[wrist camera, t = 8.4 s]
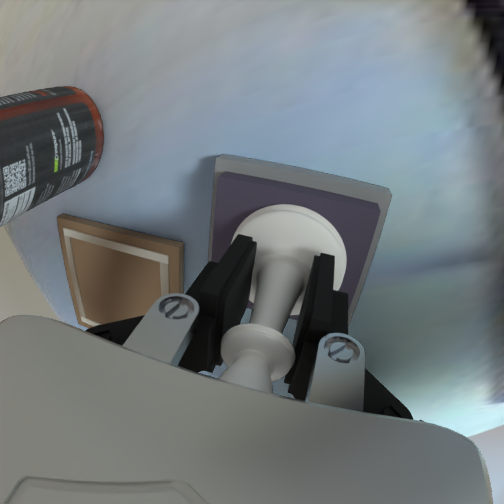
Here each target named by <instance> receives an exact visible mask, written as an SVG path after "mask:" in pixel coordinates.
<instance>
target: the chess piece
mask: <svg viewBox="0 0 504 504" xmlns="http://www.w3.org/2000/svg"><path fill="white" fill-rule="evenodd" d="M238 234H241V235H245V236H250V237H253V241H255V242H257V248H256V255H255V262H254V267H253V272H252V279H251V281H252V282H251V289H250V296H249V300H250V301H251V302H252V303H253V308H252V313H251V318H250V321H249V323H248V324H241V325H237V326H234V327H232V328H231V329H229V330H228V331H227V332H226V333H225V334H224V336H223V338H222V341H221V356H222V359H223V361H224V362H225V364H226V365H227V366H228V368H227V369H226V370H225V371H224V372H223V373H222V375H221V376H220V377H219V378H218V379H221V380H224V381H227V382H231V383H234V384H238V385H242V386H245V387H249V388H253V389H257V390H261V391H264V392H268V393H272V392H273V388H272V382H271V381H275V380H278V379H281V378H282V377H284V376H285V375H286V374H287V373H288V372H289V370H290V369H291V368H292V366H293V364H294V362H295V351H294V348H293V346H292V344H291V343H290V341H289V340H288V339H287V338H286V337H285V336H284V335H283V334H282V333H283V330H284V328H285V325H286V323H287V321H288V319H289V317H290V315H299V313H300V309H301V306H302V302H303V299H304V295H305V291H306V288H307V284H308V280H309V276H310V271H311V267H312V263H313V259H314V255H317V256H320V254H321V253H325V254H329V255H334V256H335V267H334V286H333V290H336V291H338V290H339V288H340V286H341V284H342V281H343V278H344V274H345V270H346V264H347V257H346V250H345V246H344V243H343V241H342V239H341V237H340V235H339V233H338V232H337V230H336V229H335V228H334V226H333V225H332V224H331V223H330V222H329V221H328V220H326V219H325V218H324V217H323V216H321V215H320V214H318V213H316V212H314V211H312V210H310V209H308V208H305V207H301V206H297V205H290V204H279V205H272V206H268V207H264V208H262V209H259V210H257V211H255V212H254V213H252V214H251V215H249V216H248V217H247V218H246V219H245V220H244V221H243V222H242V223H241V224H240V225H239V227H238V228H237V230H236V232H235V234H234V236H233V239H232V242H233V241H234V239H235V238H236V236H237V235H238ZM232 242H231V244H232Z"/></svg>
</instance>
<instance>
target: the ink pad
mask: <svg viewBox="0 0 504 504" xmlns="http://www.w3.org/2000/svg"><path fill="white" fill-rule="evenodd" d="M391 197H392V194H391V192H390V190H389V188H385V187H381V186H377V185H373V184H369V183H365V182H361V181H357V180H353V179H349V178H345V177H340V176H336V175H332V174H327V173H323V172H318V171H313V170H309V169H304V168H299V167H294V166H289V165H284V164H279V163H273V162H268V161H262V160H257V159H251V158H245V157H239V156H233V155H226V154H222V155H221V156H219V157H217V158H216V161H215V172H214V184H213V196H212V209H211V222H210V236H209V252H208V262H209V261H213V262H217V263H219V261H220V260H221V258H222V257H223V255H224V254H225V252H226V251H227V249H228V248H229V246H230V245H231V242H232V239H233V236H234V234H235V232H236V230H237V228H238V227H239V225H240V224H241V223H242V222H243V221H244V220H245V219H246V218H247V217H248V216H249V215H251V214H252V213H254V212H255V211H257V210H259V209H262V208H264V207H268V206H272V205H279V204H290V205H297V206H301V207H305V208H308V209H310V210H312V211H314V212H316V213H318V214H320V215H321V216H323V217H324V218H325V219H326V220H328V221H329V222H330V223H331V224H332V225H333V226H334V228H335V229H336V230H337V232H338V233H339V235H340V237H341V239H342V241H343V243H344V246H345V250H346V257H347V264H346V270H345V274H344V278H343V281H342V284H341V286H340V288H339V290H338V291H340V292H345V293H348V326H349V323H350V320H351V318H352V315H353V313H354V310H355V308H356V305H357V302H358V300H359V297H360V294H361V291H362V289H363V286H364V283H365V280H366V277H367V274H368V272H369V269H370V266H371V263H372V260H373V257H374V254H375V251H376V248H377V244H378V241H379V238H380V235H381V232H382V228H383V225H384V222H385V218H386V215H387V211H388V208H389V204H390V201H391ZM247 308H250V309H252V308H253V303H252V302H251V301H250V300H249V301H248V305H247ZM298 317H299V315H290V317H289V318H291V319H295V320H298Z"/></svg>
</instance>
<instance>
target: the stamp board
mask: <svg viewBox="0 0 504 504" xmlns="http://www.w3.org/2000/svg"><path fill="white" fill-rule="evenodd" d="M57 222H58V229H59V236H60V242H61V248H62V253H63V259H64V264H65V269H66V274H67V279H68V283H69V288H70V292H71V296H72V300H73V304H74V308H75V312H76V316H77V320H78V324H80V325H82V326H85V327H87V328H91V327H94V326H97V325H102V324H106V323H111V322H116V321H120V320H125V319H129V318H134V317H138V316H143V315H146V313H147V312H148V311H149V309H150V308H151V307H152V305H153V304H154V303H155V301H156V300H158V299H159V298H160V297H162V296H164V295H167V294H171V293H180V294H183V264H184V243H183V242H178V241H174V240H170V239H166V238H161V237H157V236H153V235H149V234H145V233H141V232H136V231H132V230H128V229H124V228H120V227H115V226H111V225H107V224H103V223H99V222H95V221H91V220H86V219H82V218H78V217H74V216H70V215H66V214H61V215H60V216H58V217H57Z"/></svg>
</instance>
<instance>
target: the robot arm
mask: <svg viewBox="0 0 504 504" xmlns="http://www.w3.org/2000/svg"><path fill="white" fill-rule="evenodd" d="M256 248H257V242H255V241H253V237H250V236H245V235H241V234H238V235H237V236H236V238H235V239H234V241H233V242H232V244H231V245H230V246H229V248H228V249H227V251H226V252H225V254H224V255H223V257H222V258H221V260H220V261H219V263H217V262H213V261H209V262H208V263H207V265H206V266H205V267H204V269H203V270H202V272H201V273H200V274H199V276H198V277H197V278H196V280H195V281H194V283H193V284H192V285H191V287H190V288H189V289H188V291H187V292H186V294H180V293H171V294H167V295H164V296H162V297H160V298H159V299H158V300H156V301H155V303H154V304H153V305H152V307H151V308H150V309H149V311H148V312H147V313H146V315H143V316H138V317H134V318H129V319H125V320H120V321H116V322H111V323H106V324H102V325H97V326H94V327H91V328H89V329H87V330H86V331H84V330H81V329H79V328H76V327H74V326H71V325H69V324H66V323H63V322H60V321H57V320H54V319H50V318H45V317H41V316H32V315H18V316H12V317H9V318H7V319H5V320H3V321H2V322H0V504H493V498H492V490H491V483H490V478H489V474H488V470H487V466H486V463H485V460H484V458H483V455H482V453H481V451H480V450H479V448H478V447H477V446H476V445H475V443H473V442H472V441H471V440H470V439H468V438H467V437H465V436H463V435H462V434H459V433H457V432H455V431H453V430H451V429H448V428H445V427H442V426H439V425H435V424H432V423H427V422H424V421H422V420H419V421H418V420H413V417H412V415H411V413H410V411H409V410H408V409H407V408H406V407H405V406H404V405H403V404H402V403H401V402H400V401H399V400H398V399H397V398H396V397H395V396H394V395H393V394H392V393H391V392H389V391H388V390H387V389H386V388H385V387H384V386H383V385H382V384H381V383H380V382H379V381H378V380H377V379H376V378H375V377H374V376H373V375H372V374H371V373H369V372H368V371H367V370H366V369H365V352H364V348H363V347H362V345H361V344H360V343H359V342H358V341H357V340H356V339H355V338H353V337H351V336H349V335H348V293H345V292H340V291H336V290H333V286H334V267H335V256H334V255H329V254H325V253H321V254H320V256H317V255H314V259H313V263H312V267H311V271H310V276H309V280H308V284H307V288H306V291H305V295H304V299H303V302H302V306H301V309H300V313H299V317H298V322H297V327H296V331H295V336H294V340H293V345H292V346H293V348H294V351H295V362H294V364H293V366H292V368H291V369H290V370H289V372H288V373H287V374H286V375H285V380H284V383H287V384H289V389H288V393H290V394H292V395H293V396H294V397H295V398H296V399H294V398H289V397H285V396H281V395H277V394H273V393H268V392H264V391H261V390H257V389H253V388H249V387H245V386H242V385H238V384H234V383H231V382H227V381H224V380H221V379H217V378H214V377H211V376H207V375H204V374H201V373H198V372H200V371H208V372H211V373H212V372H213V370H214V368H215V365H219V366H221V365H222V362H223V359H222V356H221V341H222V338H223V336H224V334H225V333H226V332H227V331H228V330H229V329H231V328H232V327H234V326H237V325H239V324H240V322H241V319H242V317H243V315H244V312H245V310H246V308H247V305H248V301H249V296H250V289H251V282H252V281H251V279H252V272H253V267H254V262H255V255H256Z"/></svg>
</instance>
